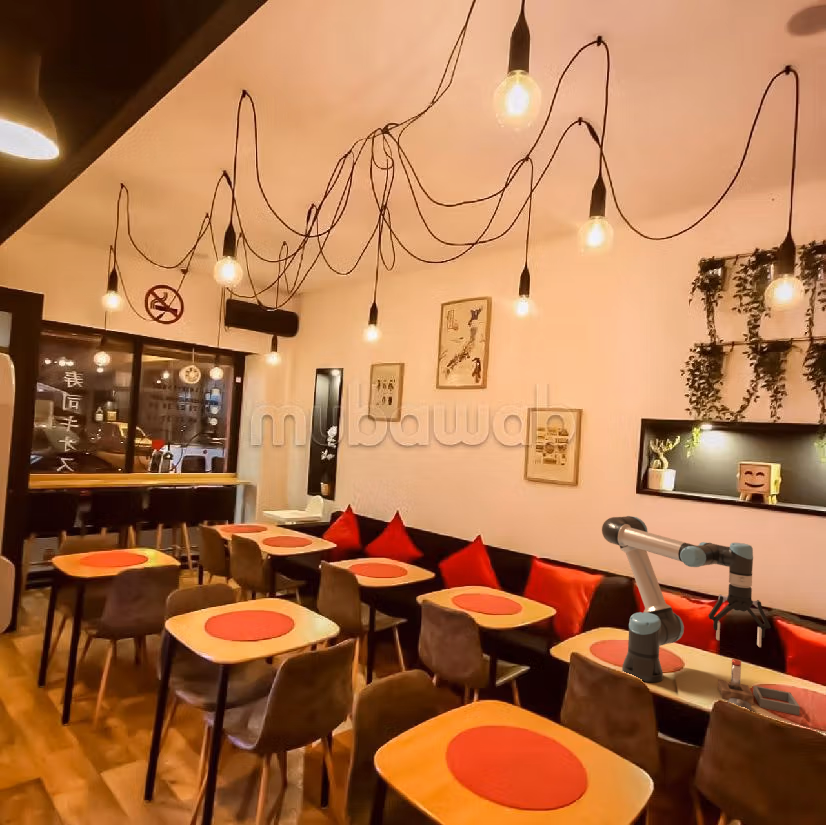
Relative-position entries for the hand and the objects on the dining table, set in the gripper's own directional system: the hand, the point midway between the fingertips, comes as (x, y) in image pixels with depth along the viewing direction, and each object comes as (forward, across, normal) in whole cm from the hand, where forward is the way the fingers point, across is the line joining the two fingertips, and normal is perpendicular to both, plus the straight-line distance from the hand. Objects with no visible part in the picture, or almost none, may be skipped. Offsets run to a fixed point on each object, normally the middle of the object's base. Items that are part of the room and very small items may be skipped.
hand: (738, 642), depth 210 cm
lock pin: (+20, 0, 0) cm, 20 cm away
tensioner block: (+21, 0, -4) cm, 21 cm away
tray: (+21, +13, 0) cm, 24 cm away
